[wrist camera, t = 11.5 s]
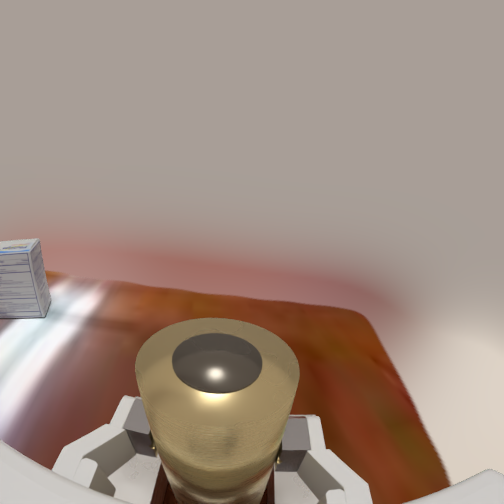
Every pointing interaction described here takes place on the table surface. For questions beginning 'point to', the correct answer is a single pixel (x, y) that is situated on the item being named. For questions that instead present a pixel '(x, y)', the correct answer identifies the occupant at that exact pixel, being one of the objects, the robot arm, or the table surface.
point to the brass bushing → (217, 406)
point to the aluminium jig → (155, 483)
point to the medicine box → (22, 280)
